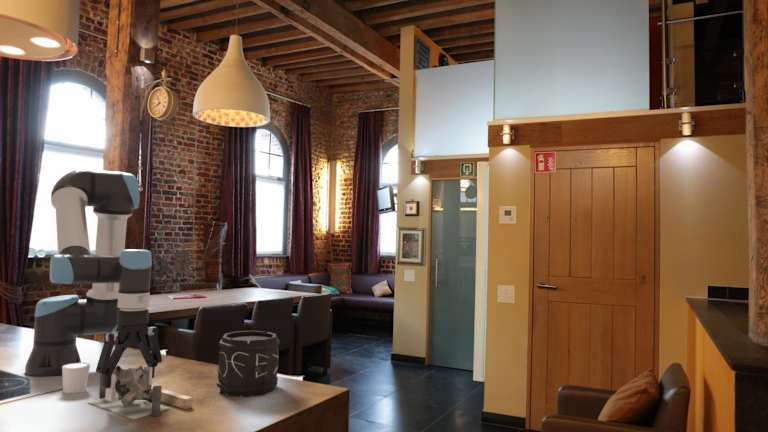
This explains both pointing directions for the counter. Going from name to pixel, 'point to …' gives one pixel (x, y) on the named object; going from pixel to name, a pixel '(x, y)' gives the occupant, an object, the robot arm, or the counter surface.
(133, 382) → the decorative stone
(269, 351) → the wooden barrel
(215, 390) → the counter surface
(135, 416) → the grey tray with pegs
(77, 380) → the shot glass
